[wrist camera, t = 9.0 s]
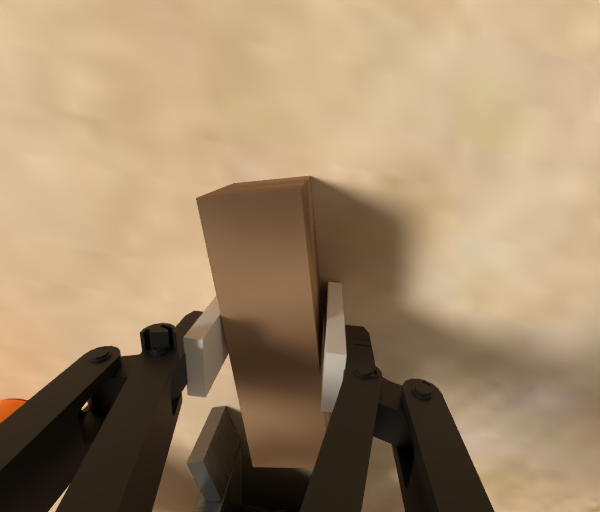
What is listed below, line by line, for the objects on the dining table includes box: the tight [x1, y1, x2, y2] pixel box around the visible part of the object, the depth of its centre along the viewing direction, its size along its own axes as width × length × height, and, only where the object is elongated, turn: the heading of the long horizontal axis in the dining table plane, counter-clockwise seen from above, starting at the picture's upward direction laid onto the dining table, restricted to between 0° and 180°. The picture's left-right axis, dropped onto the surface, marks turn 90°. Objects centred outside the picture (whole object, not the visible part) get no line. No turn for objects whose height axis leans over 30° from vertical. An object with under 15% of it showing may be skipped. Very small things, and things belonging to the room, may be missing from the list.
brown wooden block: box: [196, 176, 330, 468], centre depth 16 cm, size 14×4×5 cm, turn 6°
